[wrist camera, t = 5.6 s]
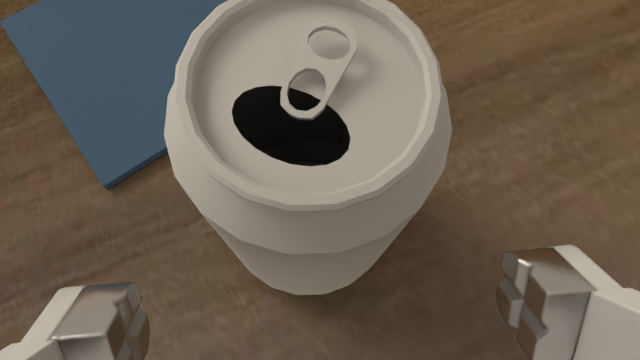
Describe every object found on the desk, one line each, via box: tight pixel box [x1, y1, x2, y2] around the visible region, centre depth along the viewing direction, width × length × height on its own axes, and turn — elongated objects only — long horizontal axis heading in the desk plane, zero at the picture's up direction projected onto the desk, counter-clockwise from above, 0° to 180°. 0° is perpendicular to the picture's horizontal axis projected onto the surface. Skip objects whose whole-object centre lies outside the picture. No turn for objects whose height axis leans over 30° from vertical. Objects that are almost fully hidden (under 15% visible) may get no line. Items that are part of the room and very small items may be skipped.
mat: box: [0, 0, 228, 189], centre depth 24 cm, size 14×12×1 cm
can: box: [164, 0, 452, 295], centre depth 15 cm, size 8×8×12 cm
